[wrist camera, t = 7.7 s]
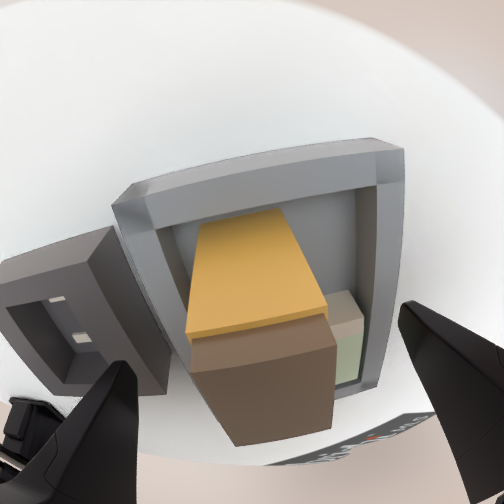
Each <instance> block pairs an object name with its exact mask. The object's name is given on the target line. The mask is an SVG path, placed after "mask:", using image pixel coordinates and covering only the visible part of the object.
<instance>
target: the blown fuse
mask: <svg viewBox="0 0 504 504" xmlns="http://www.w3.org/2000/svg"><path fill="white" fill-rule="evenodd" d="M185 334H186V336H187V338H188V340H189V342H190V344H191V347H192V349H191V363H190V374H191V376H192V378H193V380H194V381H195V383H196V385H197V387H198V388H199V390H200V392H201V393H202V395H203V397H204V398H205V400H206V402H207V403H208V405H209V407H210V408H211V410H212V411H213V413H214V415H215V416H216V418H217V419H218V421H219V423H220V424H221V426H222V427H223V429H224V430H225V432H226V433H227V435H228V436H229V438H230V439H231V441H232V442H233V444H234V445H235V447H238V446H246V445H253V444H260V443H266V442H272V441H278V440H283V439H288V438H293V437H298V436H302V435H307V434H311V433H315V432H319V431H323V430H327V429H331V427H332V417H333V406H334V394H335V380H336V363H337V343H336V340H335V338H334V336H333V333H332V331H331V328H330V326H329V324H328V304H327V302H326V300H325V298H324V296H323V294H322V292H321V290H320V288H319V285H318V283H317V281H316V279H315V277H314V275H313V273H312V271H311V269H310V267H309V265H308V263H307V261H306V259H305V257H304V255H303V253H302V251H301V249H300V247H299V245H298V243H297V241H296V239H295V237H294V235H293V233H292V231H291V229H290V227H289V225H288V223H287V221H286V219H285V217H284V215H283V213H282V211H281V209H280V208H275V209H270V210H265V211H260V212H255V213H250V214H245V215H240V216H235V217H230V218H226V219H221V220H216V221H212V222H207V223H203V224H200V227H199V233H198V239H197V246H196V253H195V259H194V267H193V274H192V281H191V289H190V297H189V305H188V313H187V322H186V331H185Z"/></svg>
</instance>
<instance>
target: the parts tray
mask: <svg viewBox="0 0 504 504" xmlns="http://www.w3.org/2000/svg"><path fill="white" fill-rule="evenodd" d="M404 186H405V169H404V148H401V147H398V146H395V145H392V144H389V143H387V142H384V141H381V140H378V139H374V138H362V139H352V140H343V141H335V142H327V143H319V144H312V145H305V146H298V147H292V148H286V149H280V150H274V151H268V152H263V153H257V154H252V155H247V156H242V157H237V158H232V159H227V160H223V161H218V162H214V163H209V164H205V165H201V166H197V167H193V168H189V169H185V170H181V171H177V172H173V173H169V174H165V175H162V176H158V177H155V178H151V179H147V180H144V181H141V182H137V183H134V184H132V185H131V186H130V187H129V188H128V189H127V190H126V191H125V192H124V193H123V194H122V195H121V196H120V197H119V198H118V199H117V200H116V201H115V202H114V203H113V204H112V205H111V206H112V209H113V212H114V214H115V217H116V220H117V222H118V225H119V228H120V230H121V233H122V235H123V238H124V241H125V243H126V246H127V248H128V250H129V253H130V255H131V258H132V260H133V262H134V265H135V267H136V269H137V272H138V274H139V276H140V279H141V281H142V283H143V285H144V287H145V290H146V292H147V294H148V296H149V298H150V300H151V303H152V305H153V307H154V309H155V311H156V313H157V315H158V317H159V319H160V321H161V323H162V325H163V327H164V329H165V331H166V333H167V335H168V337H169V339H170V341H171V342H172V344H173V346H174V348H175V350H176V352H177V354H178V356H179V357H180V359H181V361H182V363H183V365H184V366H185V368H186V370H187V372H188V373H189V375H190V377H191V379H192V380H193V378H192V376H191V374H190V363H191V349H192V347H191V344H190V342H189V340H188V338H187V336H186V334H185V331H186V322H187V313H188V305H189V297H190V289H191V281H192V274H193V267H194V259H195V253H196V246H197V239H198V233H199V227H200V224H203V223H207V222H212V221H216V220H221V219H226V218H230V217H235V216H240V215H245V214H250V213H255V212H260V211H265V210H270V209H275V208H280V209H281V211H282V213H283V215H284V217H285V219H286V221H287V223H288V225H289V227H290V229H291V231H292V233H293V235H294V237H295V239H296V241H297V243H298V245H299V247H300V249H301V251H302V253H303V255H304V257H305V259H306V261H307V263H308V265H309V267H310V269H311V271H312V273H313V275H314V277H315V279H316V281H317V283H318V285H319V288H320V290H321V292H322V294H323V296H324V295H328V294H332V293H336V292H340V291H344V290H349V292H350V293H351V295H352V297H353V298H354V300H355V302H356V304H357V305H358V307H359V309H360V311H361V312H362V314H363V316H364V334H363V342H362V350H361V358H360V365H359V371H358V378H357V379H354V380H351V381H347V382H344V383H340V384H337V385H335V394H334V400H336V399H339V398H343V397H346V396H350V395H353V394H356V393H359V392H363V391H366V390H369V389H372V388H375V387H377V384H378V380H379V376H380V372H381V368H382V364H383V360H384V356H385V351H386V347H387V342H388V337H389V332H390V327H391V322H392V316H393V310H394V304H395V298H396V291H397V283H398V276H399V267H400V258H401V247H402V235H403V218H404ZM193 382H194V384H195V385H196V383H195V381H194V380H193ZM196 387H197V385H196ZM197 389H198V390H199V388H198V387H197ZM199 392H200V390H199ZM200 394H201V395H202V393H201V392H200ZM202 397H203V395H202ZM203 399H204V400H205V398H204V397H203ZM205 402H206V400H205ZM206 404H207V405H208V403H207V402H206ZM208 407H209V405H208ZM209 408H210V407H209ZM210 410H211V408H210ZM211 412H212V413H213V411H212V410H211ZM213 415H214V413H213ZM214 416H215V415H214ZM215 418H216V416H215ZM216 419H217V418H216ZM217 421H218V419H217ZM218 422H219V421H218Z"/></svg>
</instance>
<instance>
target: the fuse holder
mask: <svg viewBox="0 0 504 504" xmlns="http://www.w3.org/2000/svg"><path fill="white" fill-rule="evenodd" d="M0 331H1V333H2V334H3V336H4V337H5V338H6V340H7V341H8V342H9V344H10V345H11V346H12V348H13V349H14V350H15V352H16V353H17V354H18V355H19V357H20V358H21V359H22V360H23V362H24V363H25V364H26V365H27V366H28V368H29V369H30V370H31V371H32V372H33V373H34V375H35V376H36V377H37V378H38V379H39V380H40V381H41V382H42V383H43V385H44V386H45V387H46V388H47V389H48V390H49V391H50V392H51V393H52V394H53V395H57V396H77V397H84V396H85V395H86V393H87V392H88V391H89V390H90V388H91V387H92V386H93V385H94V384H95V382H96V381H97V380H98V379H99V378H100V376H101V375H102V374H103V373H104V372H105V371H106V369H107V368H108V367H109V366H110V365H111V363H112V362H113V361H116V360H125V361H127V362H128V364H129V365H130V367H131V368H132V369H133V371H134V372H135V374H136V375H137V378H138V396H152V395H166V393H167V384H168V376H169V368H170V360H171V350H170V348H169V346H168V344H167V343H166V341H165V339H164V337H163V335H162V333H161V331H160V329H159V328H158V326H157V324H156V322H155V320H154V318H153V316H152V314H151V312H150V310H149V308H148V306H147V304H146V302H145V299H144V297H143V295H142V293H141V291H140V289H139V287H138V285H137V282H136V280H135V278H134V276H133V274H132V271H131V269H130V267H129V264H128V262H127V260H126V257H125V255H124V253H123V250H122V248H121V245H120V243H119V241H118V238H117V236H116V233H115V230H114V228H113V226H109V227H106V228H102V229H99V230H95V231H92V232H89V233H85V234H82V235H79V236H76V237H72V238H69V239H66V240H63V241H60V242H56V243H53V244H50V245H47V246H44V247H41V248H38V249H35V250H32V251H29V252H27V253H24V254H21V255H18V256H15V257H12V258H10V259H7V260H4V261H3V262H2V263H1V264H0Z"/></svg>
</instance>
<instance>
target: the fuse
mask: <svg viewBox="0 0 504 504" xmlns="http://www.w3.org/2000/svg"><path fill="white" fill-rule="evenodd" d="M324 298H325V300H326V302H327V304H328V324H329V326H330V328H331V331H332V333H333V336H334V338H335V340H336V343H337V363H336V380H335V385H337V384H340V383H344V382H347V381H351V380H354V379H357V378H358V371H359V365H360V358H361V350H362V342H363V334H364V316H363V314H362V312H361V311H360V309H359V307H358V305H357V304H356V302H355V300H354V298H353V297H352V295H351V293H350V292H349V290H344V291H340V292H336V293H332V294H328V295H324Z"/></svg>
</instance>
